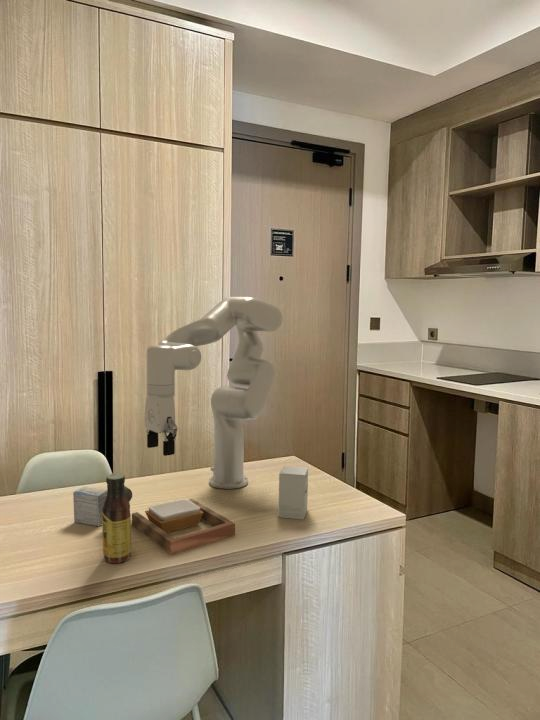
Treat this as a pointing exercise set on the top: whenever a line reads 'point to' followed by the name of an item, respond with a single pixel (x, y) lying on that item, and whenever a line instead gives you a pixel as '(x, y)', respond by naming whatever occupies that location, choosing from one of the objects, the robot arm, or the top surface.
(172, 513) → the soap dish
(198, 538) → the bay
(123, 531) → the sauce bottle
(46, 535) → the top surface
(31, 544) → the top surface
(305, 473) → the supplement box
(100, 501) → the medicine box
